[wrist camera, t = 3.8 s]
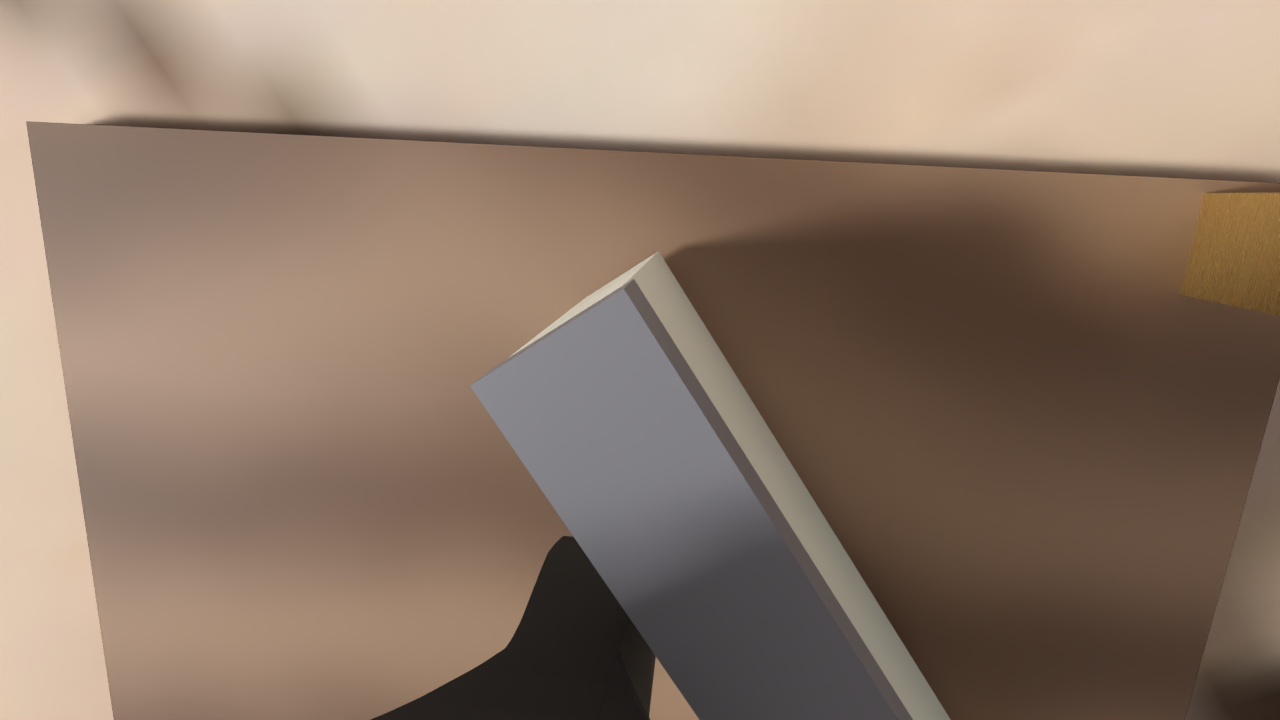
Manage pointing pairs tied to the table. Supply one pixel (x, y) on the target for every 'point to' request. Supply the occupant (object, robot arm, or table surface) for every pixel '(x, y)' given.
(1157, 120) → the table surface
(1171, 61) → the table surface
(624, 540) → the panel
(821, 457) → the brown wooden board
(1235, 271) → the post
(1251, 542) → the table surface
